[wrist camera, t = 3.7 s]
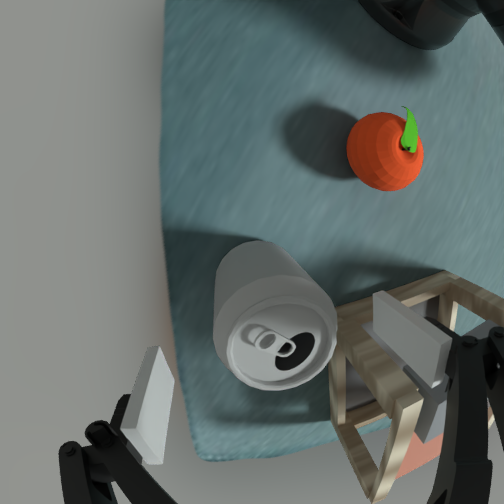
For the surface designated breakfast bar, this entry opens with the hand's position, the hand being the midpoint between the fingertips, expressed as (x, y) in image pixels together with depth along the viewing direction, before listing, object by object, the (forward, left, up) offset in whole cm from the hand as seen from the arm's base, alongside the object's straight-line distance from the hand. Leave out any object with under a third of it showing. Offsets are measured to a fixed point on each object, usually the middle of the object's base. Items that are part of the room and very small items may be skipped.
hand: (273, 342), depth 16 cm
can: (0, 0, -11) cm, 11 cm away
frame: (+14, +15, -11) cm, 23 cm away
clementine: (-10, +13, -11) cm, 20 cm away
